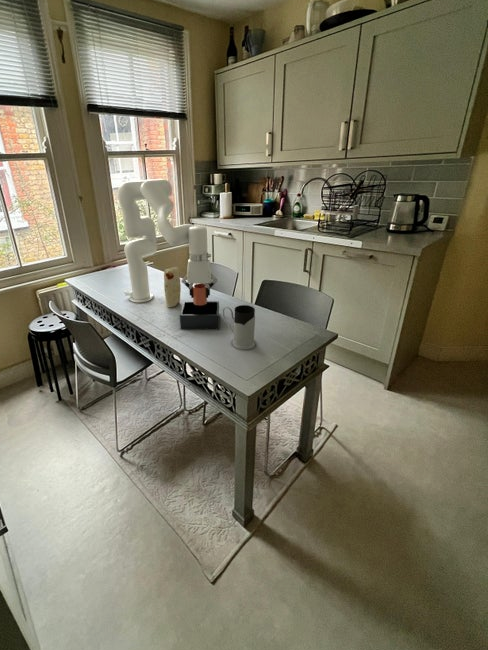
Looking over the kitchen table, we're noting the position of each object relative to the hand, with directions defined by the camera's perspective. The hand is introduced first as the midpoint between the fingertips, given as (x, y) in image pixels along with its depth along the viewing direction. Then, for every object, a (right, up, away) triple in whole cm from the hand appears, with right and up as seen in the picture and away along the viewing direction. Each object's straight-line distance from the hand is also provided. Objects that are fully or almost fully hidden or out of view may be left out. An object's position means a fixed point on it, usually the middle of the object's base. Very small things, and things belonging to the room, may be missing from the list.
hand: (200, 296), depth 138 cm
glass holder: (+15, -18, -12) cm, 26 cm away
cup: (0, -3, +1) cm, 3 cm away
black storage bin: (0, -11, +5) cm, 12 cm away
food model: (-13, -4, +23) cm, 27 cm away
